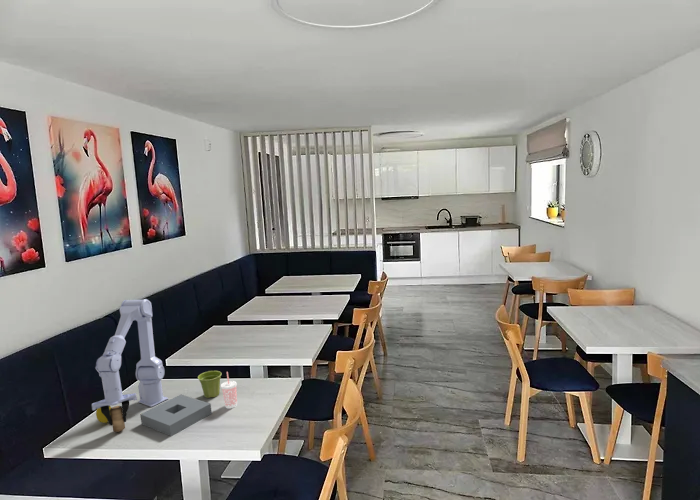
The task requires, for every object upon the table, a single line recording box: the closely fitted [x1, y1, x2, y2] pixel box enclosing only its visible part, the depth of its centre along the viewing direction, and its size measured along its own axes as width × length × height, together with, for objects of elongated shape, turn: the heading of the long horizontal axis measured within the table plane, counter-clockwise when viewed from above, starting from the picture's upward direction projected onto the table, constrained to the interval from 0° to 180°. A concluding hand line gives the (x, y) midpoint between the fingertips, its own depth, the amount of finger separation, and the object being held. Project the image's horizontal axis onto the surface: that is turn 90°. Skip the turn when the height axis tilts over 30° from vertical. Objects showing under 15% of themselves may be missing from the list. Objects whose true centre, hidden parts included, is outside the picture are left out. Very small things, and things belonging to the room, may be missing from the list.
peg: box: [110, 405, 126, 433], centre depth 176 cm, size 4×4×8 cm
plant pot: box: [197, 370, 222, 399], centre depth 201 cm, size 9×9×9 cm
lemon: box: [95, 405, 112, 424], centre depth 184 cm, size 6×6×8 cm
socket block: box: [140, 394, 213, 437], centre depth 183 cm, size 18×18×4 cm
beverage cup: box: [220, 371, 238, 409], centre depth 190 cm, size 6×6×14 cm
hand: (118, 422), depth 177 cm, fingers closed on peg, 4 cm apart
